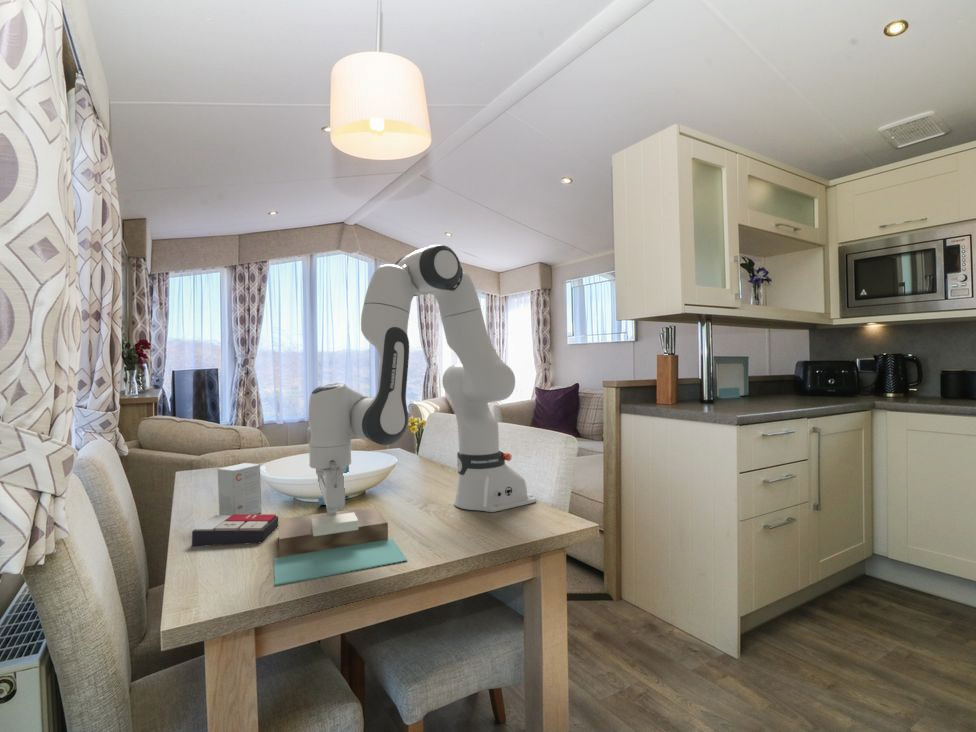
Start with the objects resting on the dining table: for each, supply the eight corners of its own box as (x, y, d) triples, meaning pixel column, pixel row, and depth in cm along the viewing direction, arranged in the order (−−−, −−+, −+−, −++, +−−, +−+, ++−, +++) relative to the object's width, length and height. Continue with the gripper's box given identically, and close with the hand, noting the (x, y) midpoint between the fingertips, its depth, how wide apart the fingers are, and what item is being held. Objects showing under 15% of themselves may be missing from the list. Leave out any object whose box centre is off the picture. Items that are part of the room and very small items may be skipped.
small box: (246, 510, 134) (244, 462, 134) (262, 513, 132) (260, 464, 131) (218, 519, 127) (216, 468, 127) (234, 522, 124) (233, 470, 124)
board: (375, 522, 122) (375, 506, 122) (388, 540, 109) (387, 522, 109) (278, 536, 113) (278, 519, 113) (279, 558, 100) (279, 539, 100)
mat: (392, 539, 109) (392, 538, 109) (407, 561, 97) (407, 559, 97) (274, 559, 100) (274, 558, 100) (274, 585, 88) (274, 584, 88)
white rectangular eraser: (354, 521, 110) (354, 512, 110) (358, 529, 105) (358, 520, 104) (311, 527, 107) (311, 518, 107) (313, 536, 101) (313, 526, 101)
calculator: (262, 527, 109) (191, 527, 108) (262, 547, 109) (190, 547, 108) (279, 512, 120) (214, 512, 119) (278, 530, 120) (214, 530, 119)
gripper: (351, 464, 101) (353, 531, 101) (340, 449, 120) (341, 505, 120) (319, 467, 99) (320, 536, 99) (312, 451, 118) (313, 509, 118)
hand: (331, 519), depth 110 cm, fingers closed
